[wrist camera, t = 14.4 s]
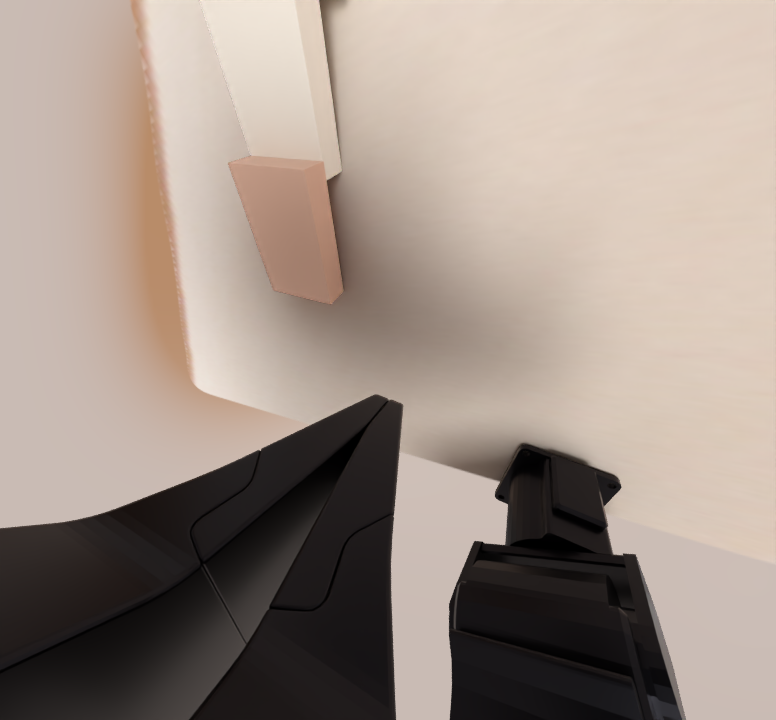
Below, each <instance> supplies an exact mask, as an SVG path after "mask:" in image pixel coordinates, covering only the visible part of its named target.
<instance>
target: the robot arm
mask: <svg viewBox="0 0 776 720" xmlns="http://www.w3.org/2000/svg"><path fill="white" fill-rule="evenodd" d="M402 414H403V404H401V403H399V402H396V401H393V400H388V398H385V397H383V396H380V395H373V396H370V397H368V398H366V399H364V400H362V401H360V402H358V403H356V404H354V405H352V406H350V407H347V408H345V409H343V410H341V411H339V412H337V413H335V414H333V415H331V416H329V417H327V418H325V419H322V420H320V421H318V422H316V423H314V424H312V425H310V426H308V427H306V428H304V429H302V430H299V431H297V432H295V433H293V434H291V435H289V436H287V437H285V438H283V439H281V440H279V441H277V442H274V443H272V444H270V445H268V446H266V447H264V448H262V449H261V451H260V450H257V451H255V452H253V453H251V454H249V455H247V456H245V457H243V458H241V459H238V460H236V461H234V462H232V463H230V464H228V465H225V466H223V467H221V468H219V469H216V470H214V471H211V472H209V473H206V474H204V475H202V476H199V477H197V478H194V479H192V480H189V481H187V482H184V483H181V484H179V485H176V486H174V487H171V488H168V489H166V490H163V491H161V492H158V493H155V494H153V495H150V496H148V497H145V498H142V499H140V500H137V501H135V502H132V503H130V504H127V505H125V506H122V507H119V508H116V509H113V510H111V511H108V512H105V513H102V514H98V515H95V516H91V517H87V518H83V519H78V520H73V521H67V522H62V523H52V524H43V525H31V526H20V527H11V528H0V720H396V711H395V710H396V709H395V685H394V659H393V631H392V604H391V551H392V533H393V521H394V517H393V516H394V507H395V496H396V483H397V472H398V460H399V449H400V438H401V426H402ZM524 451H528V452H524ZM609 483H613V484H609ZM620 489H621V484H620V480H619V479H618V478H616V477H614V476H611V475H609V474H606V473H603V472H600V471H598V470H595V469H592V468H590V467H587V466H584V465H581V464H579V463H576V462H573V461H570V460H568V459H565V458H562V457H559V456H557V455H554V454H551V453H549V452H546V451H543V450H540V449H538V448H535V447H532V446H529V445H521V446H520V447H519V449H518V450H517V452H516V454H515V456H514V458H513V460H512V461H511V463H510V465H509V467H508V469H507V471H506V472H505V474H504V476H503V478H502V480H501V482H500V484H499V485H498V487H497V489H496V491H495V497H496V499H498V500H499V501H502V502H504V503H507V504H508V516H507V530H506V544H505V545H497V544H485V543H483V542H479V541H475V542H474V543H473V546H472V548H471V551H470V553H469V555H468V558H467V560H466V562H465V565H464V567H463V570H462V572H461V574H460V577H459V579H458V582H457V584H456V587H455V589H454V592H453V595H452V598H451V600H450V603H449V611H450V613H449V639H450V649H451V658H452V695H451V696H452V697H451V710H450V720H686V718H685V714H684V710H683V706H682V702H681V698H680V694H679V689H678V685H677V681H676V678H675V673H674V669H673V665H672V662H671V658H670V655H669V652H668V648H667V645H666V642H665V639H664V635H663V632H662V629H661V626H660V623H659V619H658V616H657V613H656V610H655V607H654V604H653V601H652V598H651V596H650V593H649V590H648V587H647V584H646V582H645V579H644V576H643V573H642V571H641V568H640V565H639V562H638V560H637V557H636V555H635V554H623V555H613V552H612V547H611V543H610V539H609V534H608V530H607V527H608V523H607V518H606V514H605V510H604V506H605V505H606V504H607V503H608V502H609V501H610V500H611V499H612V497H613V496H614V495H615V494H616V493H617V492H618V491H619V490H620Z"/></svg>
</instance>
